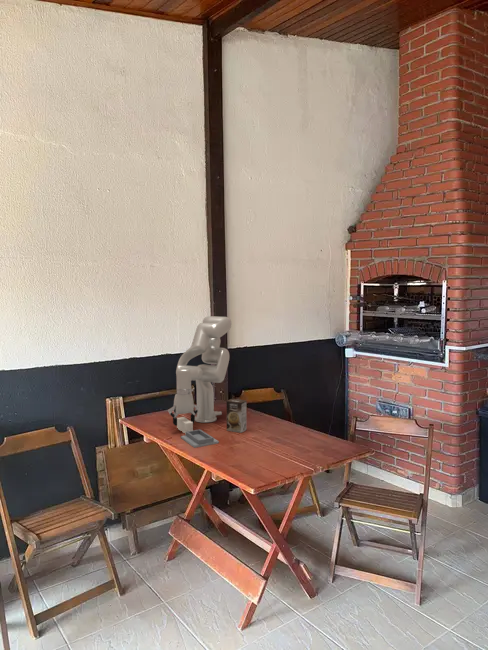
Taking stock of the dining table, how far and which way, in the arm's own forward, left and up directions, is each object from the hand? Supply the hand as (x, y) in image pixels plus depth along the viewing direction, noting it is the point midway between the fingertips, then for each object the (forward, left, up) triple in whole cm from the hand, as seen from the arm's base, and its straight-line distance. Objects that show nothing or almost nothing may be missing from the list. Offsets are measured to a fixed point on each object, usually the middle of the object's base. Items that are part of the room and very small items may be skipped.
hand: (183, 423), depth 278 cm
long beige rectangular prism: (-1, -1, -4) cm, 4 cm away
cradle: (-1, +18, -4) cm, 18 cm away
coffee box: (-25, +12, -4) cm, 28 cm away
